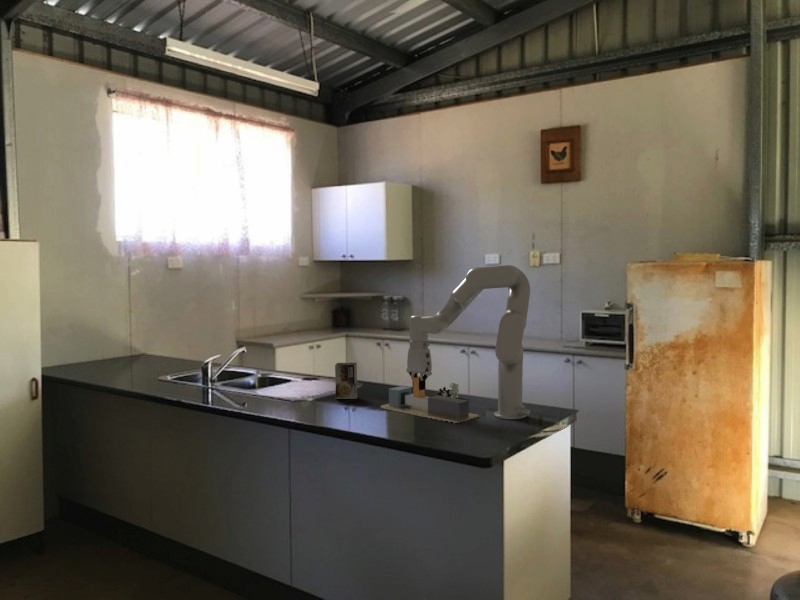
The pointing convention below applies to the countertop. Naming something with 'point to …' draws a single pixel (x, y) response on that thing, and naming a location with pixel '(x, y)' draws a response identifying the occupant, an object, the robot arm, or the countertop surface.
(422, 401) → the sliding bar with handle
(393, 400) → the socket block
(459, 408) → the stand
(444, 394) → the valve
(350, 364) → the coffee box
